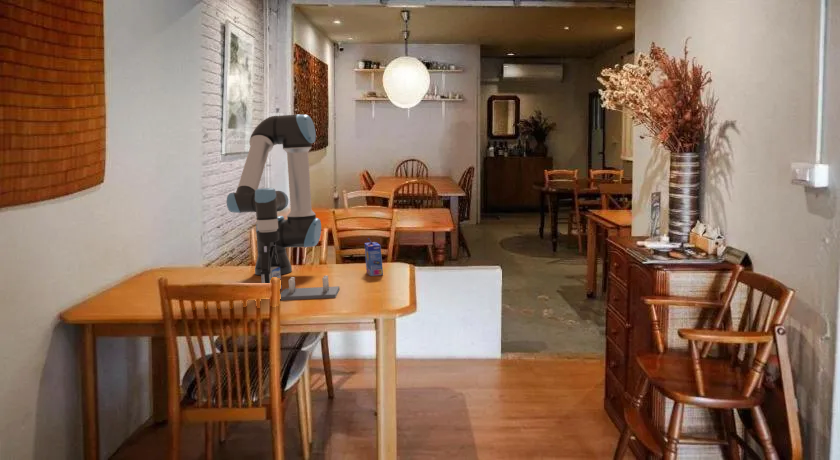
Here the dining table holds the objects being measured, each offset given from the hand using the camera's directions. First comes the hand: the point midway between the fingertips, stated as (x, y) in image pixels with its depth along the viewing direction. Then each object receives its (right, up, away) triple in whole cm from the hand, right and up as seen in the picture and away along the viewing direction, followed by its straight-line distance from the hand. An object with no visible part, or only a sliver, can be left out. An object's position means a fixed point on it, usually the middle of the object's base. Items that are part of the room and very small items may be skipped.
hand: (271, 288), depth 287 cm
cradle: (+15, -2, -9) cm, 18 cm away
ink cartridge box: (+36, +4, +27) cm, 45 cm away
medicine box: (0, -2, 0) cm, 2 cm away
